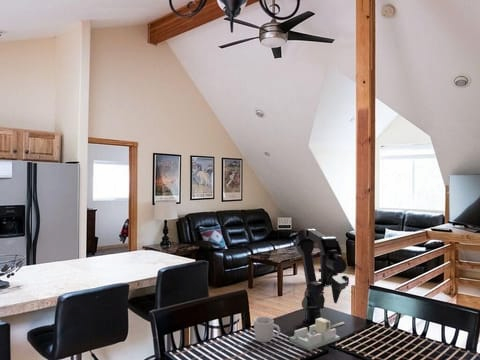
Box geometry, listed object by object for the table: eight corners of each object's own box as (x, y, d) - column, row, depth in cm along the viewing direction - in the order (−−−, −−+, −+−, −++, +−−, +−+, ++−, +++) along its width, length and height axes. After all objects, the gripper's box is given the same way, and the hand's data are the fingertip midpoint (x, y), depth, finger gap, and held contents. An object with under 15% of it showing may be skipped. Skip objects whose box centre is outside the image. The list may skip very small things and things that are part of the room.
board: (289, 340, 152) (289, 329, 152) (319, 330, 162) (319, 320, 162) (309, 350, 143) (309, 339, 143) (339, 339, 153) (339, 328, 153)
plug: (315, 333, 156) (315, 319, 156) (320, 332, 158) (320, 317, 158) (325, 338, 151) (325, 323, 151) (331, 336, 153) (331, 321, 153)
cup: (283, 339, 153) (283, 319, 153) (276, 347, 146) (276, 326, 146) (258, 334, 158) (258, 315, 158) (250, 342, 151) (250, 321, 151)
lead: (332, 328, 165) (332, 326, 165) (330, 327, 166) (330, 325, 166) (345, 324, 170) (345, 321, 170) (343, 323, 171) (343, 321, 171)
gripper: (326, 274, 146) (326, 315, 146) (358, 268, 156) (358, 306, 156) (306, 268, 155) (305, 307, 155) (337, 263, 166) (337, 299, 166)
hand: (327, 305), depth 158 cm, fingers open, 9 cm apart
